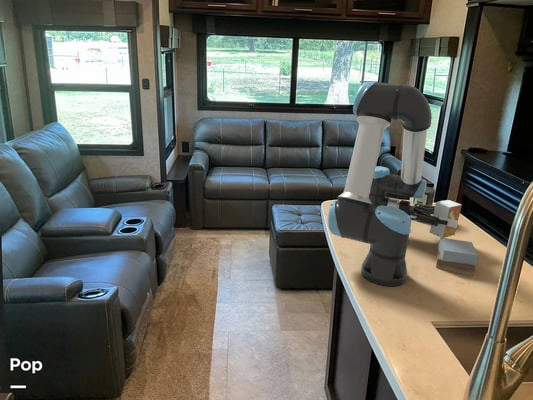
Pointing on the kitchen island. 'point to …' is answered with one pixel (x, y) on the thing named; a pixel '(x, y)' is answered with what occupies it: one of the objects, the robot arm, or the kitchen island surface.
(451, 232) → the small box
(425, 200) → the coffee can
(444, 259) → the upper block
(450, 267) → the lower block
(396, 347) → the kitchen island surface
